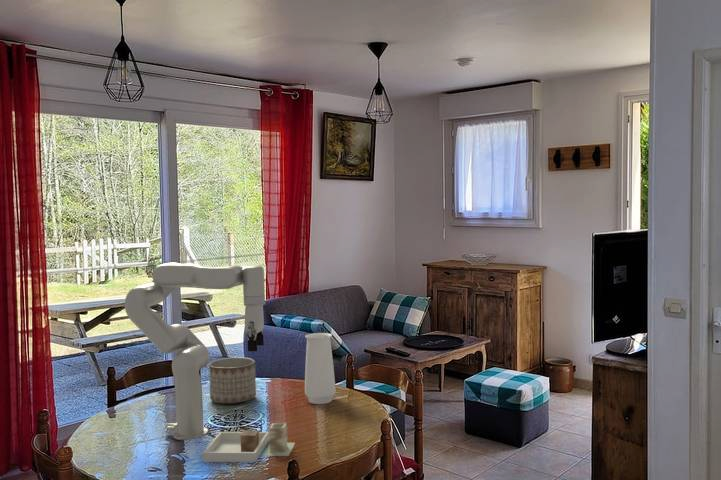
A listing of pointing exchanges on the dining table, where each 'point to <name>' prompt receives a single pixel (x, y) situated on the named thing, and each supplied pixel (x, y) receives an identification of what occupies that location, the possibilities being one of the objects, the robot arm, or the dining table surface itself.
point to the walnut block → (249, 440)
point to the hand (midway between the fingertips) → (255, 348)
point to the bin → (232, 448)
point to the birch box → (278, 437)
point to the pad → (286, 453)
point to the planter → (232, 380)
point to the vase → (319, 369)
